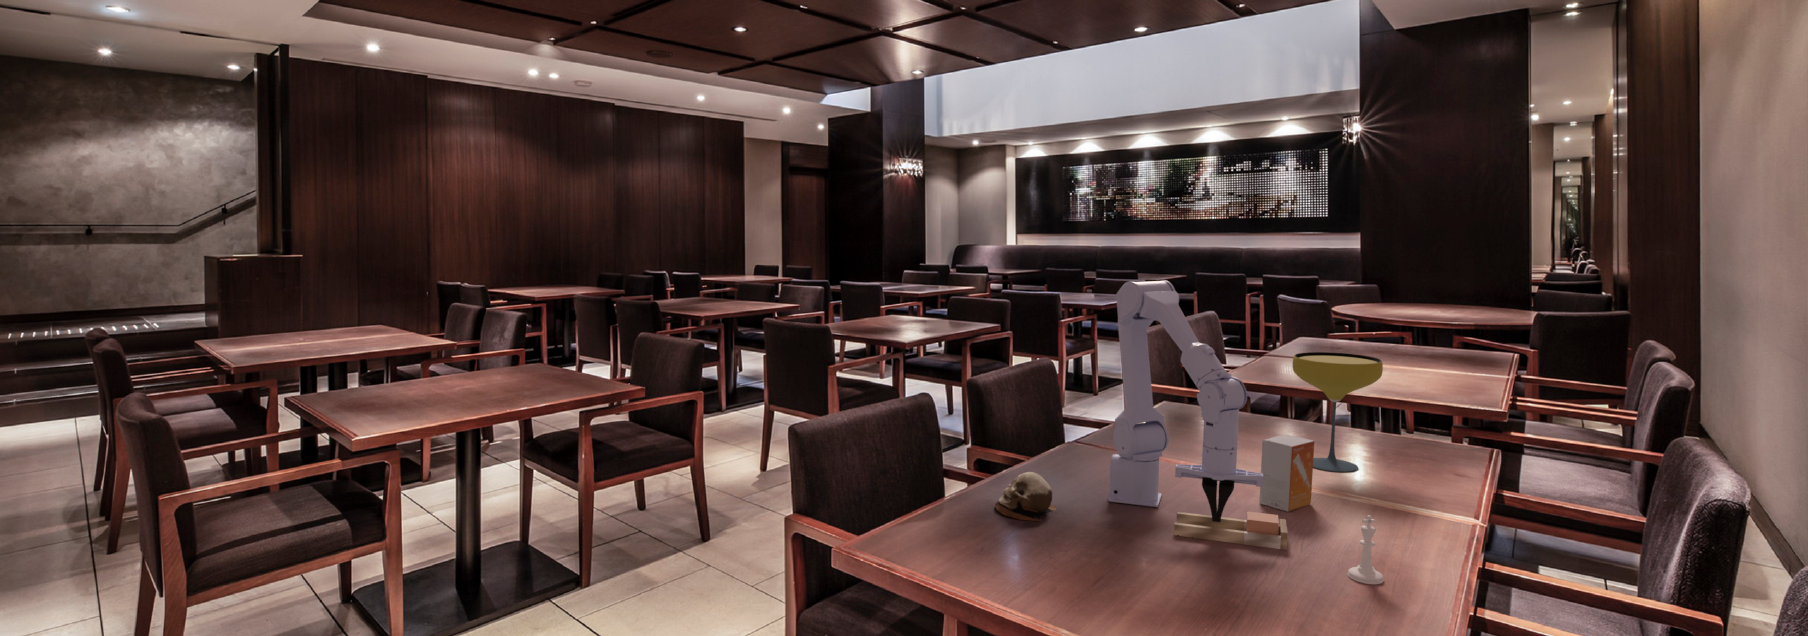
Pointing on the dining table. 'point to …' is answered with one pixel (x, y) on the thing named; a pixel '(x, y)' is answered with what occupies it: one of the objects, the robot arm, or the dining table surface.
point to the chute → (1228, 531)
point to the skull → (1026, 498)
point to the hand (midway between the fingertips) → (1216, 520)
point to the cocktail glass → (1336, 387)
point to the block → (1262, 523)
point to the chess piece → (1366, 558)
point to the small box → (1286, 472)
